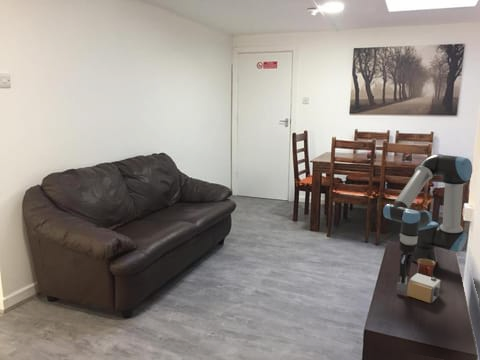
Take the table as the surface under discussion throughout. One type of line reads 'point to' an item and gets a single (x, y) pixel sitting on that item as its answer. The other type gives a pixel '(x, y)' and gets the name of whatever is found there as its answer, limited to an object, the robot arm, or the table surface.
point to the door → (417, 291)
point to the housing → (427, 283)
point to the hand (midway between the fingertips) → (402, 288)
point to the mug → (426, 267)
